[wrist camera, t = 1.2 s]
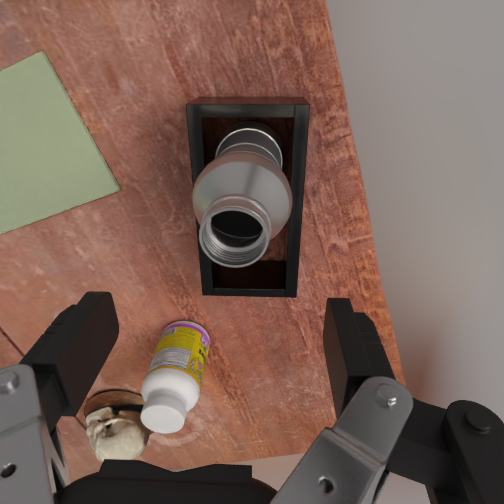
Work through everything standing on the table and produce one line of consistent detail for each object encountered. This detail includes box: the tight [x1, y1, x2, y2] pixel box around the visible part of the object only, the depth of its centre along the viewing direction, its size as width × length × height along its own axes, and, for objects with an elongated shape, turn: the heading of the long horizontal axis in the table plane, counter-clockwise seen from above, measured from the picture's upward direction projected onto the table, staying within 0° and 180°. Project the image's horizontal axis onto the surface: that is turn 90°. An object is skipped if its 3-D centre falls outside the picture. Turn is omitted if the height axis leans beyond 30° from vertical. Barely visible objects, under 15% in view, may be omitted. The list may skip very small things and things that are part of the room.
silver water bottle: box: [192, 121, 292, 267], centre depth 27 cm, size 6×7×20 cm
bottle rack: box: [186, 97, 310, 298], centre depth 36 cm, size 19×10×6 cm, turn 0°
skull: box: [84, 391, 154, 462], centre depth 56 cm, size 12×10×10 cm
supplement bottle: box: [141, 321, 210, 434], centre depth 43 cm, size 7×7×13 cm
